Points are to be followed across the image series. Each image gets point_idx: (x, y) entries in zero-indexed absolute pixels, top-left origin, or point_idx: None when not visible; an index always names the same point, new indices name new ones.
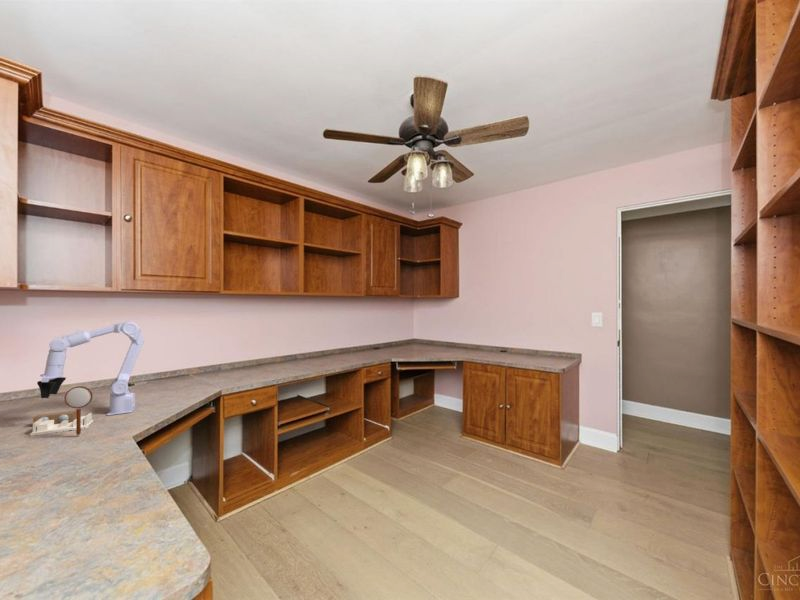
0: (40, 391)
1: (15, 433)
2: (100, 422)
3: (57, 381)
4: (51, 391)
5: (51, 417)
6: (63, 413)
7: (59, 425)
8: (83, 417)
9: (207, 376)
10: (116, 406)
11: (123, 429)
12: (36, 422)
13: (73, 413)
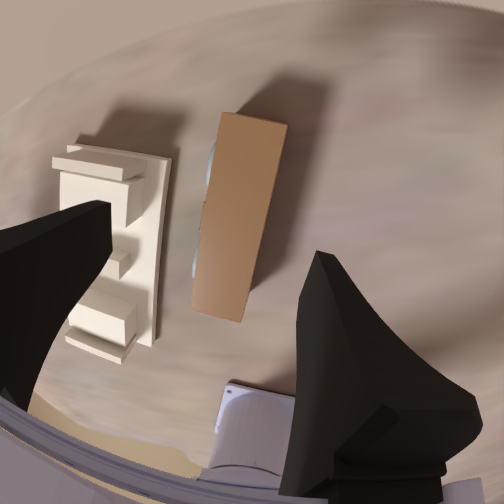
0: (34, 220)
1: (155, 64)
2: (135, 354)
3: (303, 443)
4: (316, 281)
5: (203, 206)
6: (206, 267)
7: (126, 238)
8: (102, 331)
9: (494, 501)
10: (218, 430)
11: (45, 373)
12: (60, 169)
13: (191, 306)
